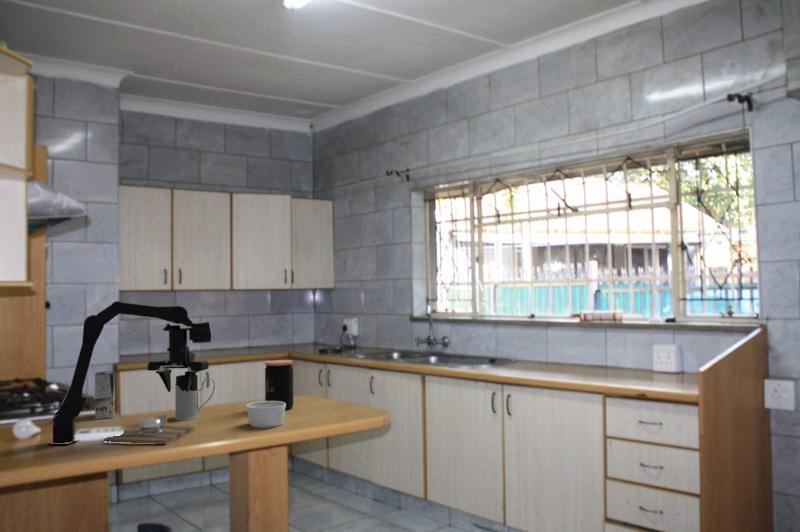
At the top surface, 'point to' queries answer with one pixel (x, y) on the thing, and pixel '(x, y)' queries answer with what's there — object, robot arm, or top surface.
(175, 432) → the lock board
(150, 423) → the lock knob
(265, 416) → the ramekin
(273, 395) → the coffee jar
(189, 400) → the grey black mug
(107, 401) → the coffee box
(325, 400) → the top surface
